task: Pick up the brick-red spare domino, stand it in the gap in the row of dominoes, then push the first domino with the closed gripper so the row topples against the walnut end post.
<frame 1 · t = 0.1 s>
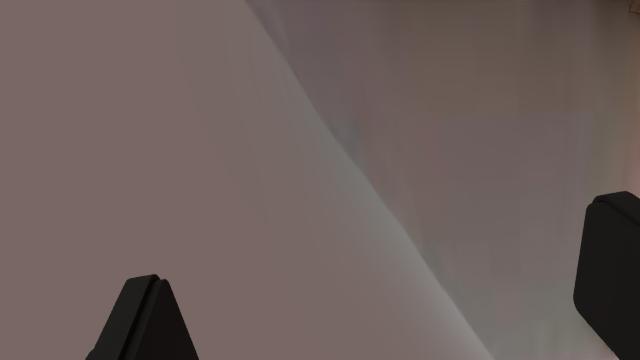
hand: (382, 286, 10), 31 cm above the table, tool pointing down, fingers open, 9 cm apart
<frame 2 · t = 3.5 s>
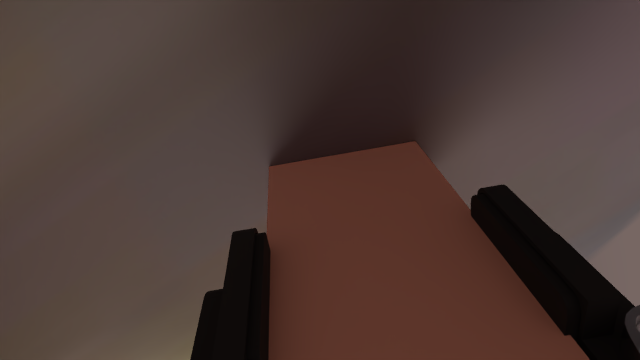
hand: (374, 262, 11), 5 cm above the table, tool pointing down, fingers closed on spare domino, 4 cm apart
spare domino: (345, 174, 15), on the table, touching gripper
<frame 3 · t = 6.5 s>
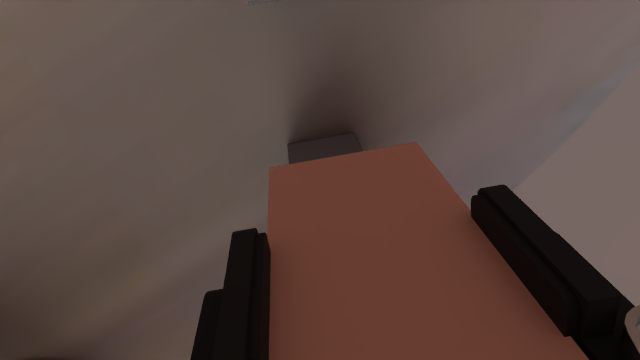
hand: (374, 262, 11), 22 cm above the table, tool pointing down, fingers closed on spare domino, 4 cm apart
domino 2: (322, 148, 33), on the table
spare domino: (345, 175, 15), point 17 cm above the table, touching gripper
when the fingers open (6 cm above the table, at t = 10.0 s): spare domino stays where it is, on the table.
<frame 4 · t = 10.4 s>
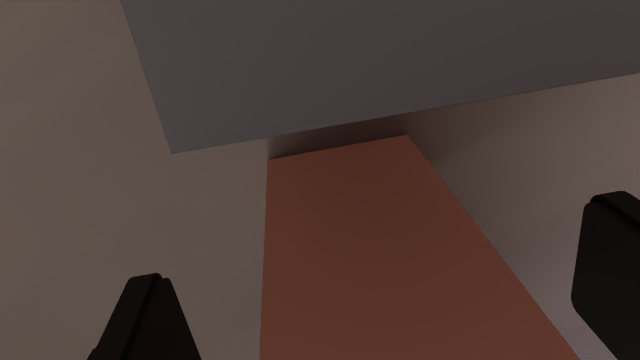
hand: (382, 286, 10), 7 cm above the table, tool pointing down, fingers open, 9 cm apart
spare domino: (340, 167, 16), on the table
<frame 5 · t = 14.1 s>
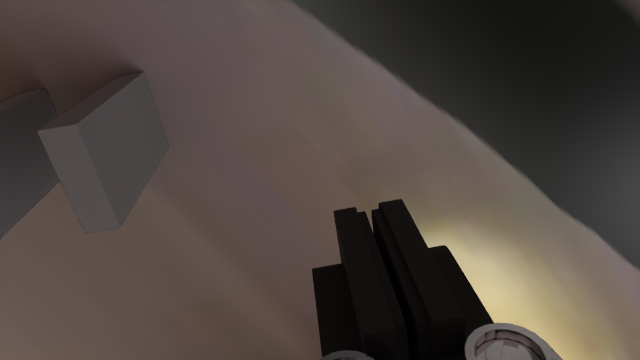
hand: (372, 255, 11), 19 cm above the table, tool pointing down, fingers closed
domino 1: (144, 113, 28), on the table
domino 2: (50, 129, 27), on the table
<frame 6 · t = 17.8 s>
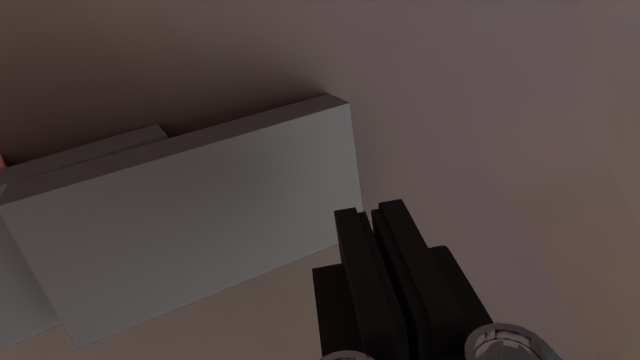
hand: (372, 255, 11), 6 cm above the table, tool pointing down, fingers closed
domino 1: (347, 165, 16), point 1 cm above the table, tilted 71°, touching domino 2
domino 2: (183, 193, 16), point 1 cm above the table, tilted 65°, touching domino 1, spare domino
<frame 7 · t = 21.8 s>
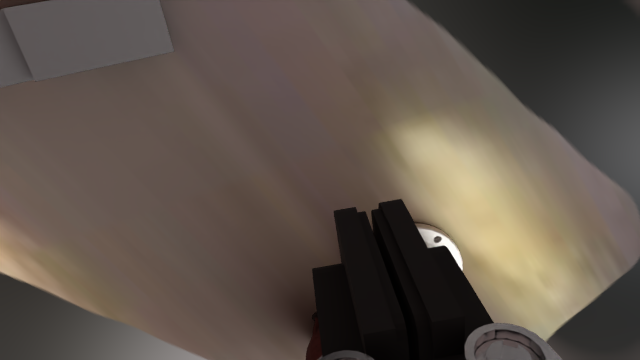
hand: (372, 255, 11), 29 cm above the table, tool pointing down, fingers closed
domino 1: (163, 18, 34), point 1 cm above the table, tilted 70°, touching domino 2
mate gourd: (328, 326, 51), on the table
domino 2: (85, 31, 34), point 1 cm above the table, tilted 63°, touching domino 1, spare domino
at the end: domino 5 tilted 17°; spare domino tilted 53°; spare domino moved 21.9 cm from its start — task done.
